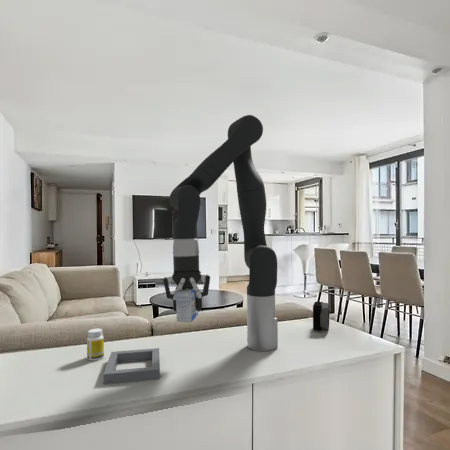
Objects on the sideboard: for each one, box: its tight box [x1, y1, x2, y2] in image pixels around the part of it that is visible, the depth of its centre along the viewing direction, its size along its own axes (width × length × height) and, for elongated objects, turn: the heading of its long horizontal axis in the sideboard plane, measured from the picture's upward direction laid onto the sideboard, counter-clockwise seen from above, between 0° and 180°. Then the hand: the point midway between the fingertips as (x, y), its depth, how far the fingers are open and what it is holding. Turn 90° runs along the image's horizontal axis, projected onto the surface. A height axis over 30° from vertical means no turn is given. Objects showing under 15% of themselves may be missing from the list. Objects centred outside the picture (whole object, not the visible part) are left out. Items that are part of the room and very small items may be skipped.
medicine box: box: [176, 288, 199, 323], centre depth 101 cm, size 8×4×9 cm, turn 170°
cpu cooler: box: [312, 301, 330, 332], centre depth 131 cm, size 10×6×10 cm, turn 159°
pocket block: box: [102, 347, 161, 385], centre depth 96 cm, size 14×16×2 cm
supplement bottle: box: [86, 328, 105, 362], centre depth 104 cm, size 5×5×8 cm
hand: (187, 311), depth 101 cm, fingers closed on medicine box, 5 cm apart
